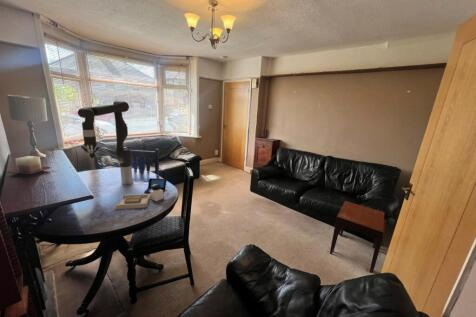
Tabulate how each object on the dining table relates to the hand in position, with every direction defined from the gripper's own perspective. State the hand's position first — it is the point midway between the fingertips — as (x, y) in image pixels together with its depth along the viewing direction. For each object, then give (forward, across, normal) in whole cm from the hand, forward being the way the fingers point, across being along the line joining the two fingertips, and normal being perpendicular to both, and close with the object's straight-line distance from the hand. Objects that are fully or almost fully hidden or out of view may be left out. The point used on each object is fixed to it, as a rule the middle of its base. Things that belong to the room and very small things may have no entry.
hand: (92, 157), depth 155 cm
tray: (+32, -31, +16) cm, 47 cm away
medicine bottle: (+32, -47, +11) cm, 58 cm away
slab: (+30, -26, +16) cm, 43 cm away
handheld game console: (+32, -44, -5) cm, 55 cm away
